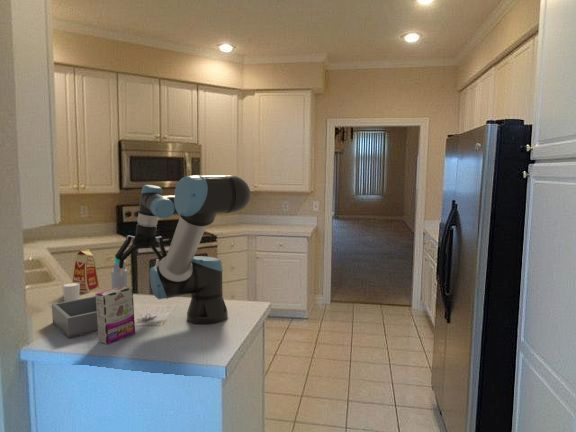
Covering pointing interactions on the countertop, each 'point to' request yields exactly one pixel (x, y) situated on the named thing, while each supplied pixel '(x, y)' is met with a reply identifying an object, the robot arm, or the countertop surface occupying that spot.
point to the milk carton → (86, 271)
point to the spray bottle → (118, 276)
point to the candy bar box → (115, 314)
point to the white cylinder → (71, 291)
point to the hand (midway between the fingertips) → (139, 275)
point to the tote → (76, 317)
